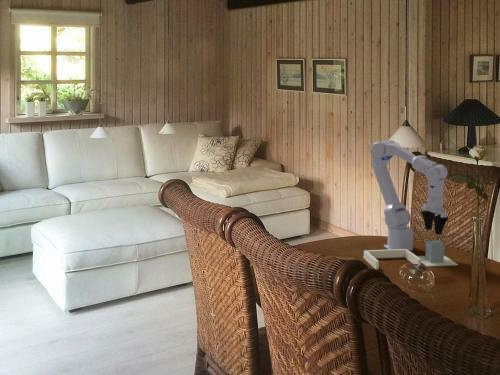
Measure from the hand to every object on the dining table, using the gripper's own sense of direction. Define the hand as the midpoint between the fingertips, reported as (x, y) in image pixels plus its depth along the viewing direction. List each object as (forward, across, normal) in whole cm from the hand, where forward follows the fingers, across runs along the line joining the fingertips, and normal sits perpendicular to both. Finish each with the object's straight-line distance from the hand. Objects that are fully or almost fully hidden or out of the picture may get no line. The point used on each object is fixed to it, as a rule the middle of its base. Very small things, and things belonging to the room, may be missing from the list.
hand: (433, 231), depth 232 cm
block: (+10, +6, -2) cm, 11 cm away
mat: (+10, +6, -2) cm, 11 cm away
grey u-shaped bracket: (+10, +4, -18) cm, 21 cm away
